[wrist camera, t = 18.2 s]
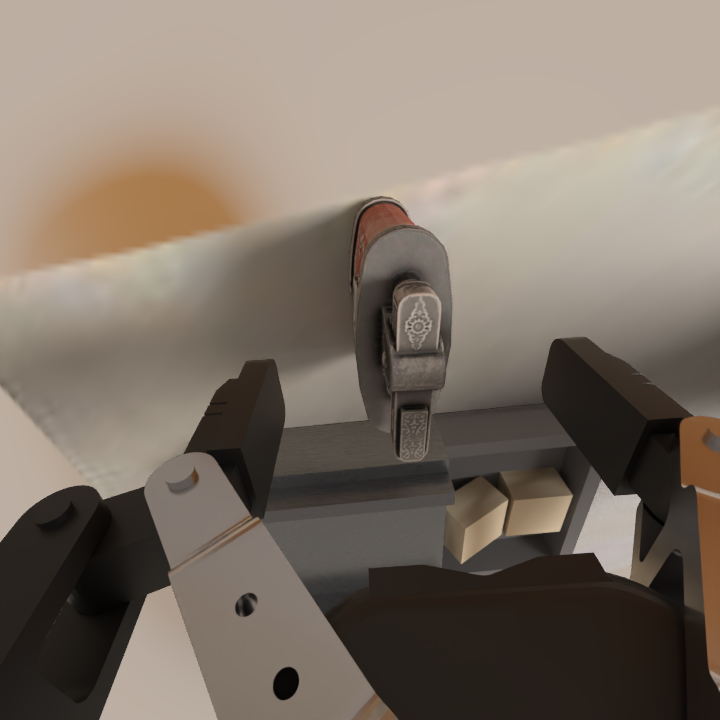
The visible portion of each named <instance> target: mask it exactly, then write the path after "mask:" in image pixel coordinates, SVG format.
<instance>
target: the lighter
mask: <svg viewBox="0 0 720 720" xmlns="http://www.w3.org/2000/svg"><path fill="white" fill-rule="evenodd" d="M349 287H350V296H351V304H352V319H353V329H354V343H355V353H356V361H357V369H358V378H359V386H360V391H361V394H362V398H363V402H364V405H365V409H366V413H367V416H368V419H369V421H370V422H371V424H372V425H373V426H374V427H376V428H377V429H378V430H380V431H384V432H387V433H390V434H391V439H392V445H393V450H394V455H395V457H396V458H397V459H399V460H402V461H404V462H413V461H420V460H422V459H423V457H424V456H425V455H426V454H427V451H428V446H429V436H430V425H431V417H432V415H433V412H434V409H435V406H436V403H437V400H438V397H439V395H440V392H441V389H442V388H443V387H444V384H445V376H446V367H447V362H448V357H449V352H450V347H451V324H452V295H451V284H450V274H449V263H448V256H447V253H446V250H445V247H444V246H443V245H442V243H441V242H440V241H439V240H438V239H437V238H436V237H435V236H434V235H433V234H432V233H431V232H430V231H428V230H426V229H424V228H422V227H420V226H418V225H415V224H414V223H413V222H412V221H411V218H410V216H409V213H408V211H407V210H406V208H405V207H404V206H403V205H402V204H401V203H400V202H399V201H397V200H395V199H393V198H391V197H384V196H379V197H374V198H371V199H369V200H367V201H366V202H364V203H363V204H362V205H361V206H360V207H359V209H358V210H357V212H356V215H355V218H354V225H353V231H352V238H351V245H350V259H349Z"/></svg>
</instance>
